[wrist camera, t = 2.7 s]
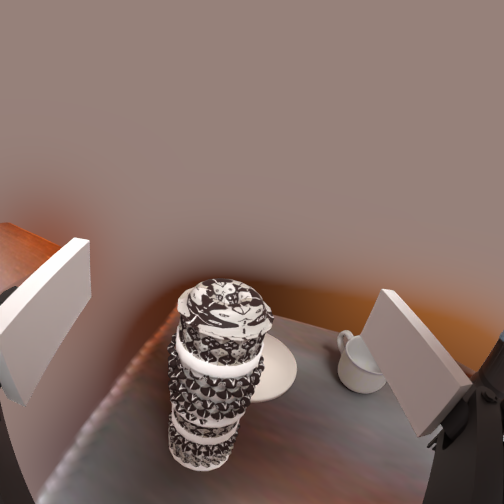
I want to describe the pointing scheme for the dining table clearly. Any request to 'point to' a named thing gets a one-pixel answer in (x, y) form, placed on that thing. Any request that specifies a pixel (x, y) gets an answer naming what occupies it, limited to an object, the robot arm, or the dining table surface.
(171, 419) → the decorative candle
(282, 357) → the candle plate
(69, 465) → the dining table surface
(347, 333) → the teacup
